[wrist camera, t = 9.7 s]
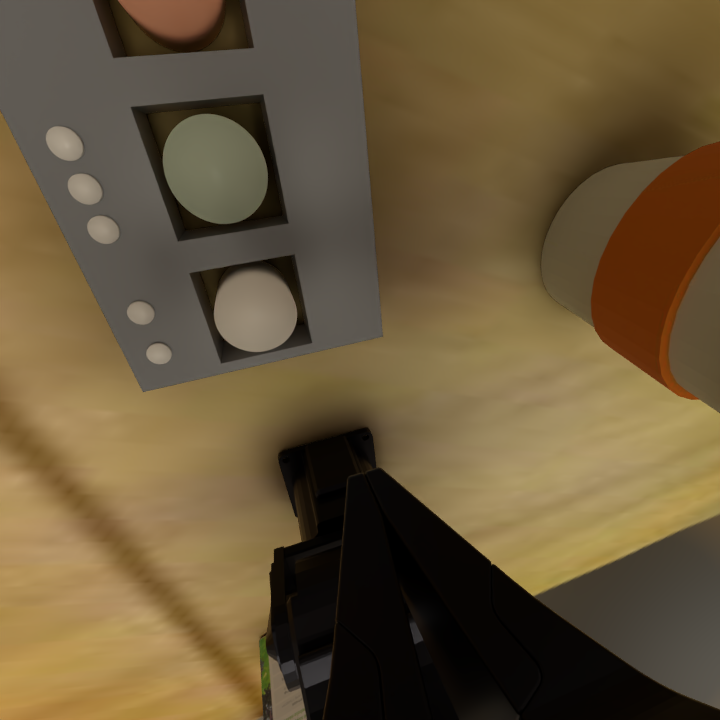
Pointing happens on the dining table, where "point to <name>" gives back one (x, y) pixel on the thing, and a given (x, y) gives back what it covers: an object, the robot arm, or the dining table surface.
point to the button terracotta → (178, 21)
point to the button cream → (254, 307)
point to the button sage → (215, 168)
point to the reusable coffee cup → (647, 266)
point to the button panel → (153, 195)
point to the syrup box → (278, 691)
